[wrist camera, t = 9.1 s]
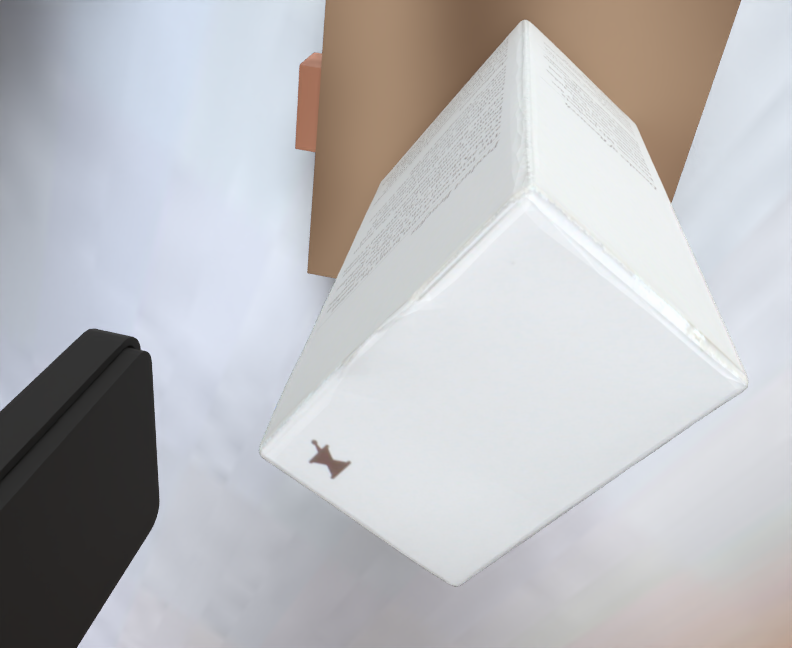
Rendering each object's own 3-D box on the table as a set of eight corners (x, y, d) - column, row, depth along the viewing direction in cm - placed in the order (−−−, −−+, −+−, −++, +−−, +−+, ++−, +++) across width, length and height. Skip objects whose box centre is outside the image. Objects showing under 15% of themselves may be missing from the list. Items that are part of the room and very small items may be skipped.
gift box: (712, -48, 22) (755, -27, 17) (614, 263, 27) (629, 336, 23) (347, -104, 22) (304, -96, 18) (323, 210, 28) (285, 271, 24)
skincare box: (488, 272, 23) (449, 601, 12) (378, 180, 22) (240, 456, 12) (647, 121, 20) (766, 393, 9) (528, 7, 19) (518, 175, 9)
